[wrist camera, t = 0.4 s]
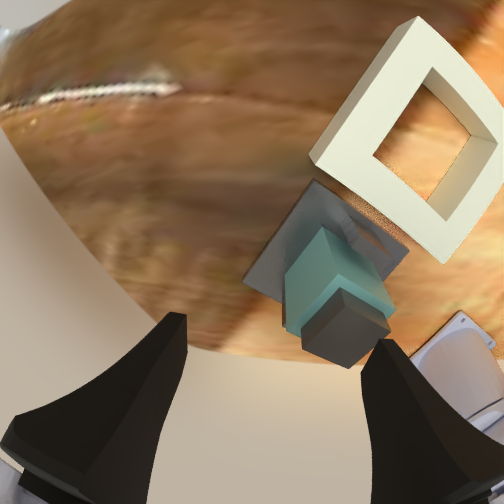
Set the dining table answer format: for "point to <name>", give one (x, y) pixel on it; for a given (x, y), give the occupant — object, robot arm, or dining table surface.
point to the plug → (336, 301)
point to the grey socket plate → (304, 230)
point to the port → (385, 115)
